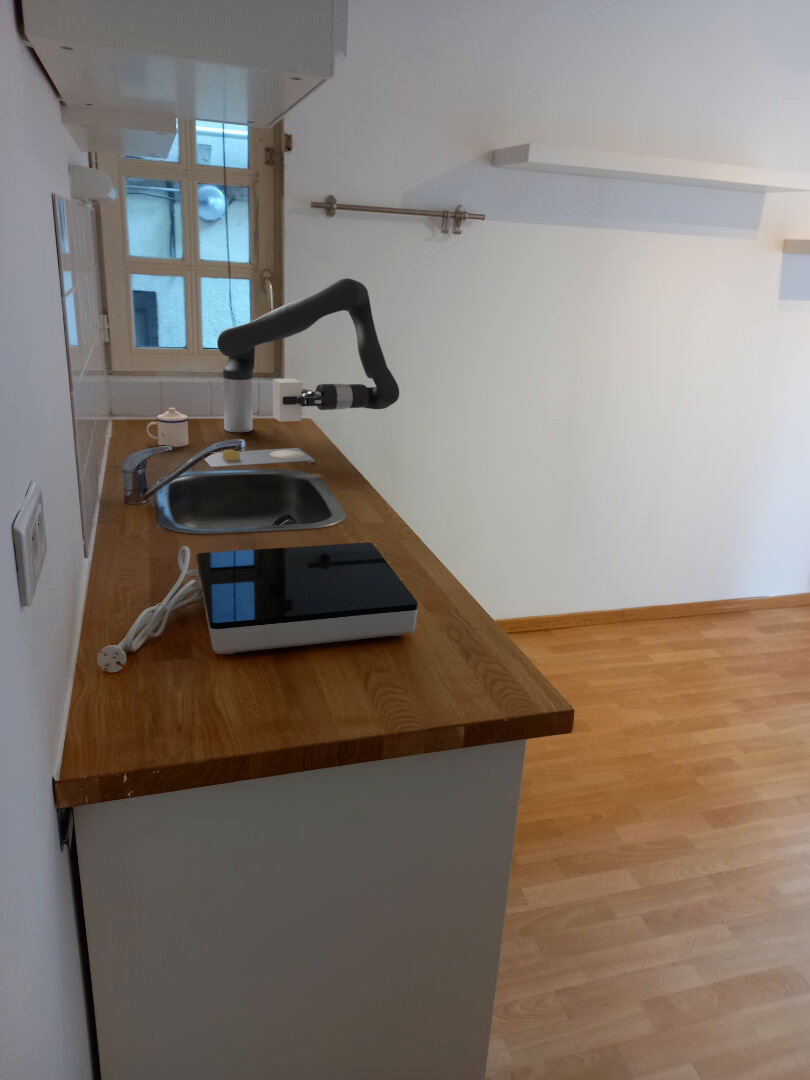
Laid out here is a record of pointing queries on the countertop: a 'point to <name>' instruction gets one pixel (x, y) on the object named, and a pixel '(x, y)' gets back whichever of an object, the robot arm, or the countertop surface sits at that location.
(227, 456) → the block
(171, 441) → the teacup with lid
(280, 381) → the white tall block
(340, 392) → the robot arm
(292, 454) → the board
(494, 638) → the countertop surface
